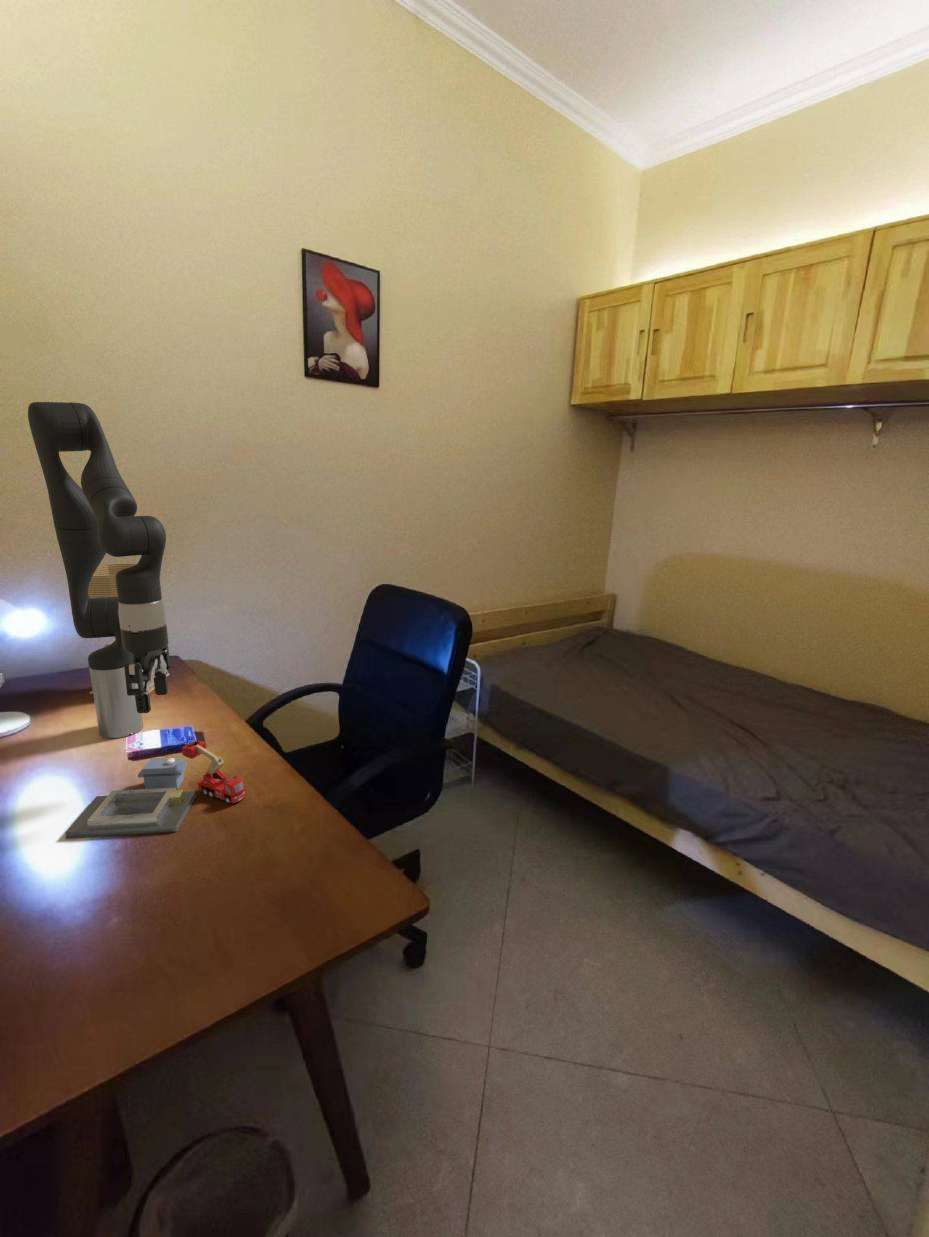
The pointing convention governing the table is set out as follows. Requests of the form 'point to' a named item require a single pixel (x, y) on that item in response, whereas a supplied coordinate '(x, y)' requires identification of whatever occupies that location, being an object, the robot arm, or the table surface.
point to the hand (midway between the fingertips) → (153, 703)
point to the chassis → (133, 813)
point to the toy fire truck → (215, 775)
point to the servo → (163, 773)
